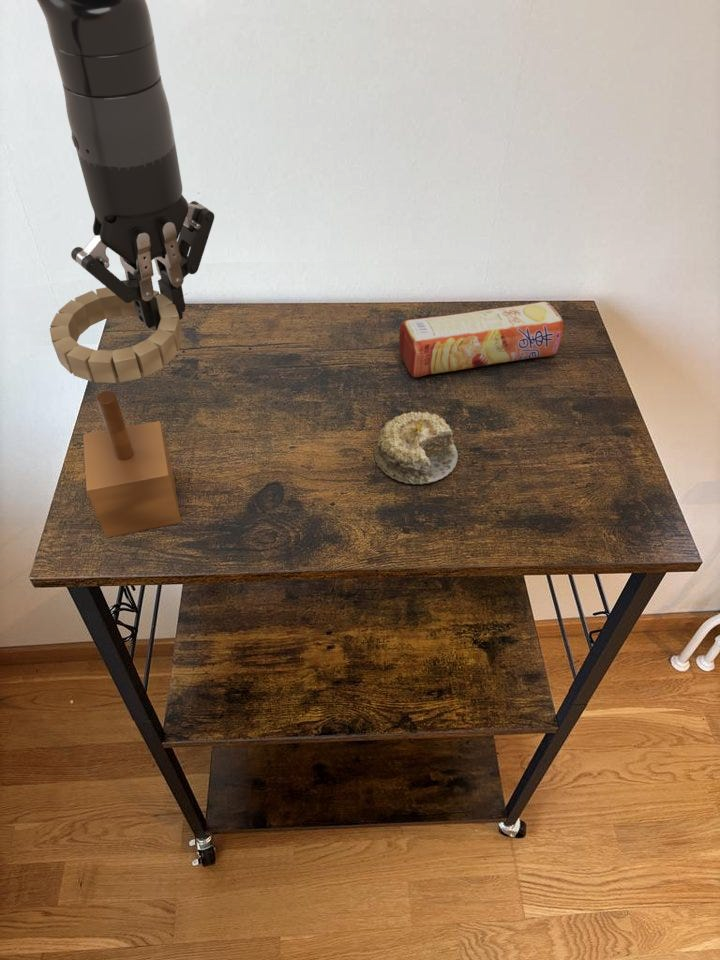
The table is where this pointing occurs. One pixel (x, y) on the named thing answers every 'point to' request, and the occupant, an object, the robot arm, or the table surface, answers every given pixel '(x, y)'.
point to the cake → (416, 448)
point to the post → (129, 473)
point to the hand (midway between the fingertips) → (164, 320)
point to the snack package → (479, 338)
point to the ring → (117, 362)
